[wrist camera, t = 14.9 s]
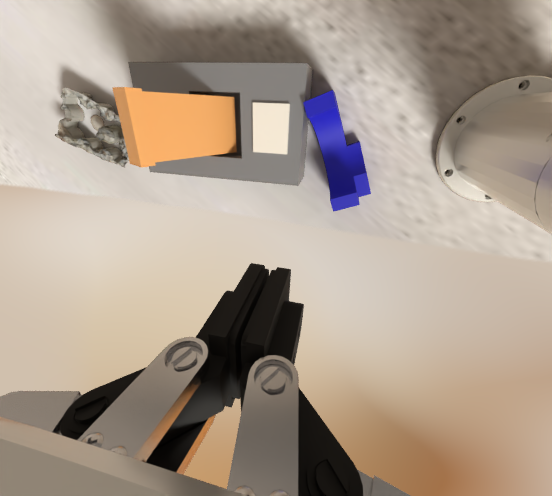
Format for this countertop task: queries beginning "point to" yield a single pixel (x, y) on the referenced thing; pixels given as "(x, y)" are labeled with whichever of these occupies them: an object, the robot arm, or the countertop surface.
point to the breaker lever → (174, 125)
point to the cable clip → (338, 153)
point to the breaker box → (242, 116)
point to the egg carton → (105, 133)
